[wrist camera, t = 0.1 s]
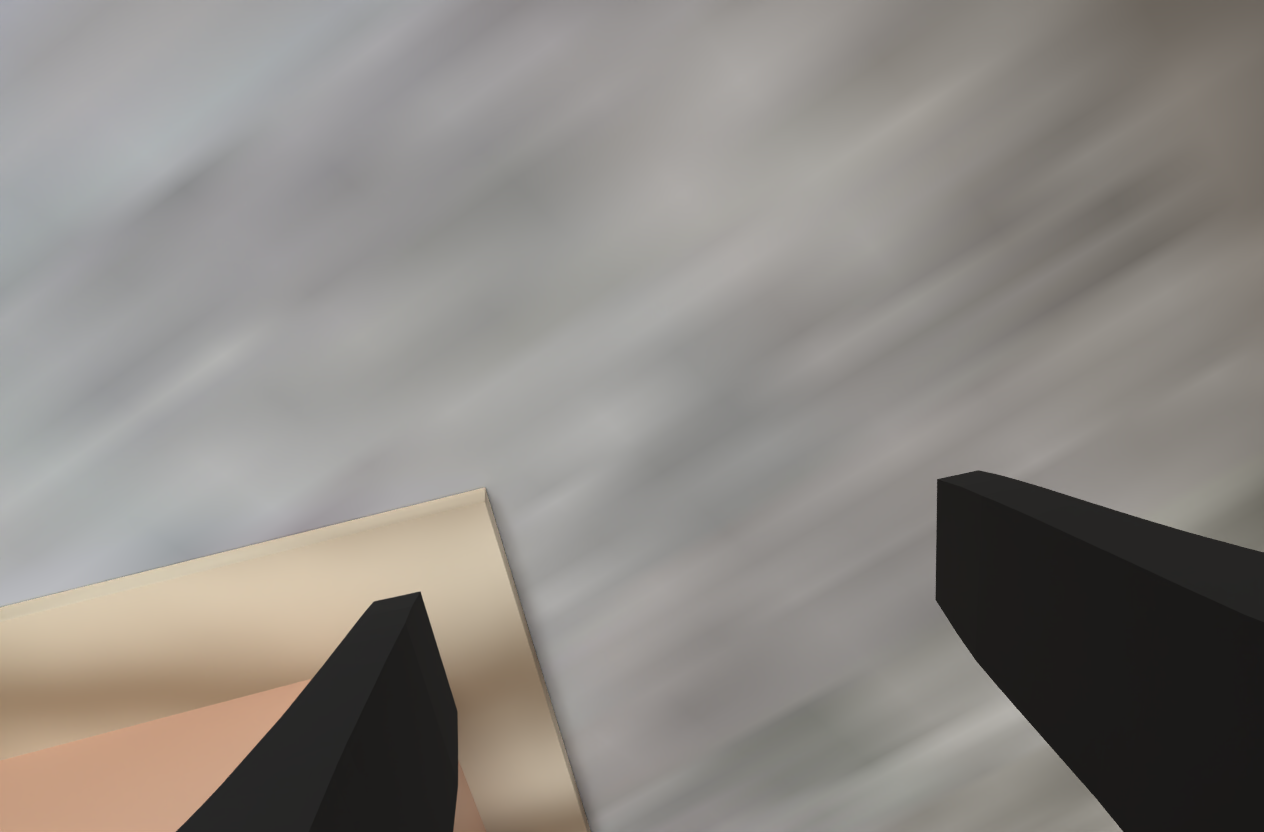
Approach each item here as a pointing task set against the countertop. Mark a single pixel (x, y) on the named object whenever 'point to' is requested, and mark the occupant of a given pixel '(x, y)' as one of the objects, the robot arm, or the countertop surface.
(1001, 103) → the countertop surface
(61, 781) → the pink square tray
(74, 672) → the serving board
